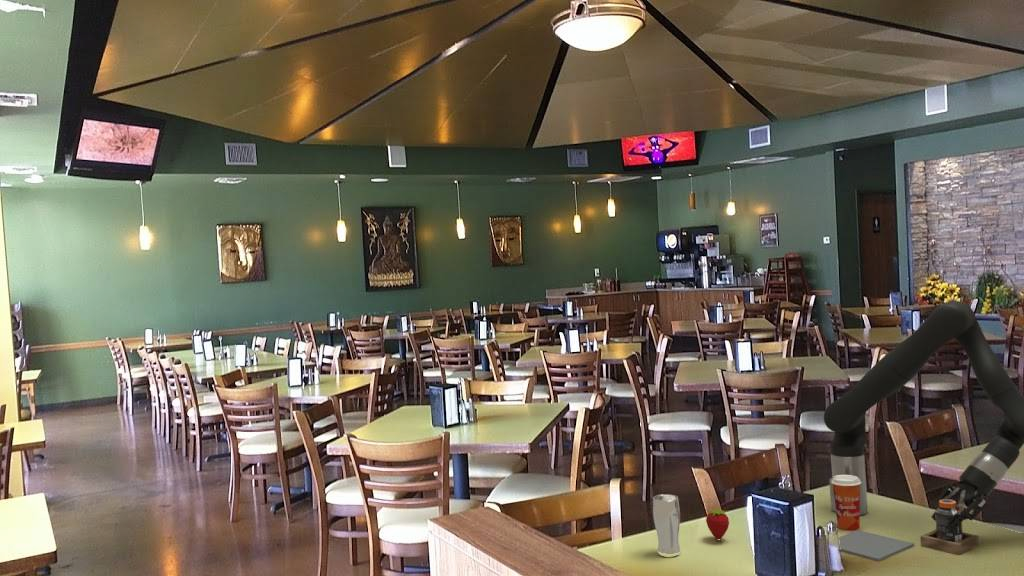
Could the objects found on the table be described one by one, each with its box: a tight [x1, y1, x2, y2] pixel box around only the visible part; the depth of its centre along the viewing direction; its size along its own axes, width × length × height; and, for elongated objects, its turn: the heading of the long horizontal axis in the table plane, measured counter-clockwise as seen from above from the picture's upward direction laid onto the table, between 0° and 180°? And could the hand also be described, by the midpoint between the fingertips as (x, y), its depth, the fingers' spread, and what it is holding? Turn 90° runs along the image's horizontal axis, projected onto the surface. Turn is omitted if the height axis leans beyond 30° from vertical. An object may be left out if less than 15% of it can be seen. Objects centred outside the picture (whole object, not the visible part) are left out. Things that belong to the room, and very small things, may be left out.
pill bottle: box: [934, 498, 963, 543], centre depth 209 cm, size 6×6×11 cm
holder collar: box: [920, 529, 980, 556], centre depth 209 cm, size 10×10×2 cm
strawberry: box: [705, 503, 730, 540], centre depth 224 cm, size 6×8×10 cm
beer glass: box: [652, 493, 681, 554], centre depth 216 cm, size 7×7×15 cm
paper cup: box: [831, 475, 861, 531], centre depth 228 cm, size 8×8×14 cm
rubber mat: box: [839, 529, 915, 562], centre depth 212 cm, size 16×16×1 cm
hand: (942, 524), depth 209 cm, fingers closed on pill bottle, 6 cm apart
